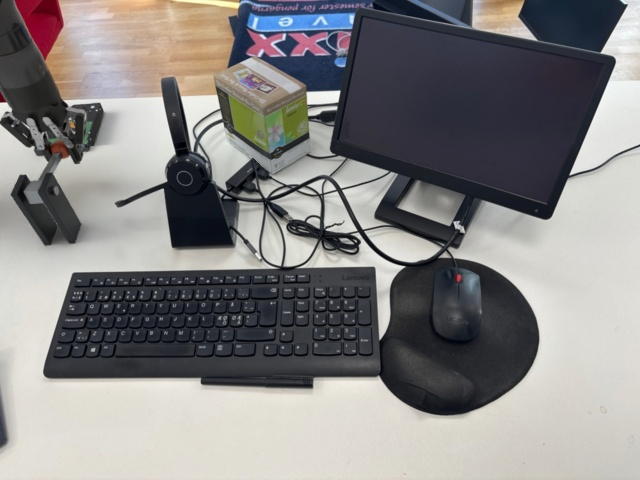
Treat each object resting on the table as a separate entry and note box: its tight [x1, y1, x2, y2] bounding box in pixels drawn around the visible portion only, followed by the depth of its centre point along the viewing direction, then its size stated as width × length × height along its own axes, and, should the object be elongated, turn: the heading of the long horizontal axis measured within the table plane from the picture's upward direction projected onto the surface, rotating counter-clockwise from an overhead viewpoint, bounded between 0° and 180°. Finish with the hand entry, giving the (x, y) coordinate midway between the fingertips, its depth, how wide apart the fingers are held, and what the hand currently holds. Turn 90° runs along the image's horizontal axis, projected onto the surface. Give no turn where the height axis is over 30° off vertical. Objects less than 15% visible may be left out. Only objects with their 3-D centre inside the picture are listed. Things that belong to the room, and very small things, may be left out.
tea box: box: [212, 55, 311, 175], centre depth 96 cm, size 15×10×15 cm, turn 42°
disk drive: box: [33, 102, 105, 157], centre depth 105 cm, size 10×3×15 cm
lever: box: [24, 140, 71, 204], centre depth 83 cm, size 15×3×3 cm, turn 4°
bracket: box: [10, 173, 82, 246], centre depth 82 cm, size 10×8×13 cm
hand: (67, 161), depth 90 cm, fingers closed on lever, 3 cm apart
